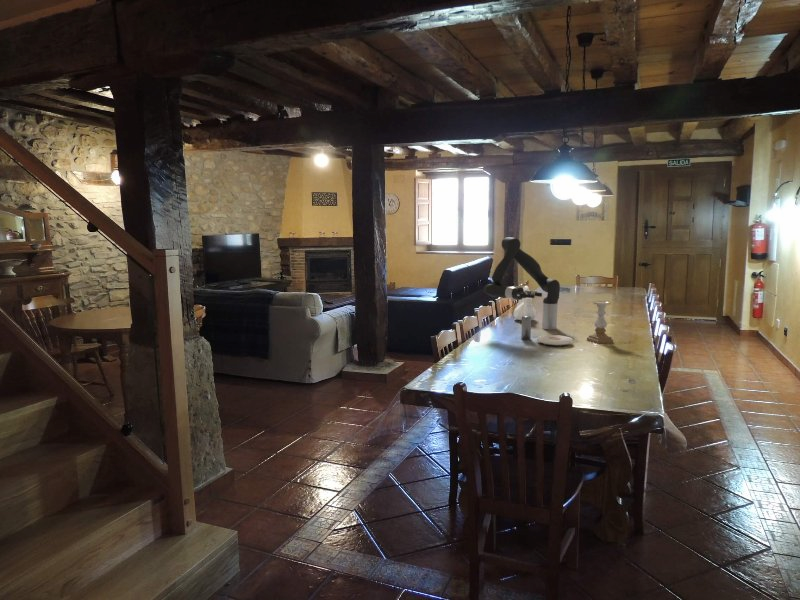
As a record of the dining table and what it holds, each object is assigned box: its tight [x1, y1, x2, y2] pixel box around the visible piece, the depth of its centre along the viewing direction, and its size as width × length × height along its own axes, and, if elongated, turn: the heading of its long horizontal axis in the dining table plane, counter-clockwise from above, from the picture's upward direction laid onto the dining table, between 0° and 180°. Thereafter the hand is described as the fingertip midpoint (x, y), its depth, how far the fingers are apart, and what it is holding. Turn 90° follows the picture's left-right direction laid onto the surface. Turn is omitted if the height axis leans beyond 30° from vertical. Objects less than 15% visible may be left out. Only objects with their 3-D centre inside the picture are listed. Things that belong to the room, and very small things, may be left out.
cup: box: [520, 316, 532, 341], centre depth 341 cm, size 6×6×14 cm
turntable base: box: [543, 343, 568, 347], centre depth 330 cm, size 14×14×2 cm
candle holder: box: [586, 300, 614, 345], centre depth 333 cm, size 11×11×24 cm
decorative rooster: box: [513, 285, 537, 321], centre depth 399 cm, size 25×16×25 cm, turn 164°
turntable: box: [537, 334, 573, 346], centre depth 329 cm, size 20×20×2 cm
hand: (538, 295), depth 331 cm, fingers open, 8 cm apart
